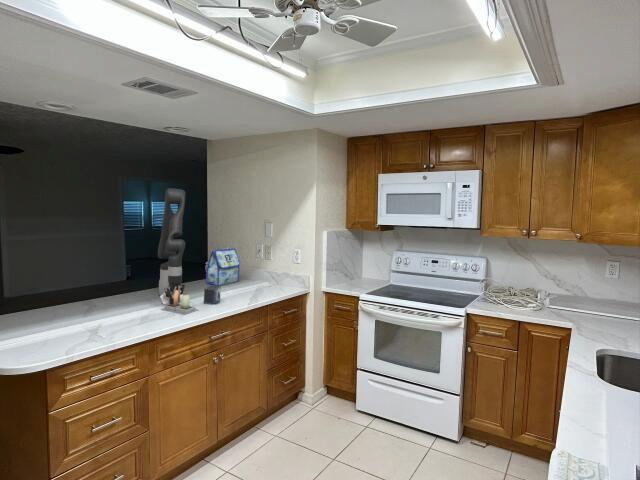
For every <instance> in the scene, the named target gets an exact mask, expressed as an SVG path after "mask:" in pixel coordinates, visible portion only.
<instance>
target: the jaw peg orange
mask: <svg viewBox="0 0 640 480" xmlns="http://www.w3.org/2000/svg"><path fill="white" fill-rule="evenodd" d="M172 293H173V292H172ZM178 294H179V290H176V291H175V294H174V297H173V298H174V304H171V306H178V304H179V303H178ZM171 296H172V294H171Z"/></svg>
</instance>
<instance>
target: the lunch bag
mask: <svg viewBox="0 0 640 480" xmlns="http://www.w3.org/2000/svg"><path fill="white" fill-rule="evenodd" d="M240 265H241V261H240V259H239V256H238V253H237V249H236V248H226V249H225V248H224V249H215V250H212V251H211V253H210V255H209V258H208V263H207V267H206V273H205V283H206V284H211V285H213V286H223V285H226V284H227V285H228V284H232V283H237V282H239V280H240Z"/></svg>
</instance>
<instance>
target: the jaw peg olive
mask: <svg viewBox="0 0 640 480" xmlns="http://www.w3.org/2000/svg"><path fill="white" fill-rule="evenodd" d="M181 304H182V309H185V310H187V309H189V306H190V294H183V295H182V301H181Z"/></svg>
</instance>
